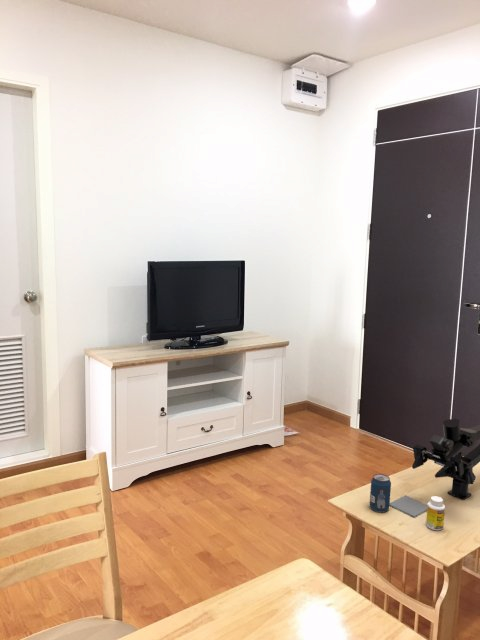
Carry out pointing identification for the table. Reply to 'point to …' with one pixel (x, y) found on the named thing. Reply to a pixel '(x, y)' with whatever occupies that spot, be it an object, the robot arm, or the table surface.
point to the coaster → (409, 506)
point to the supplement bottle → (435, 513)
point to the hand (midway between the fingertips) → (423, 471)
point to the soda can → (380, 493)
